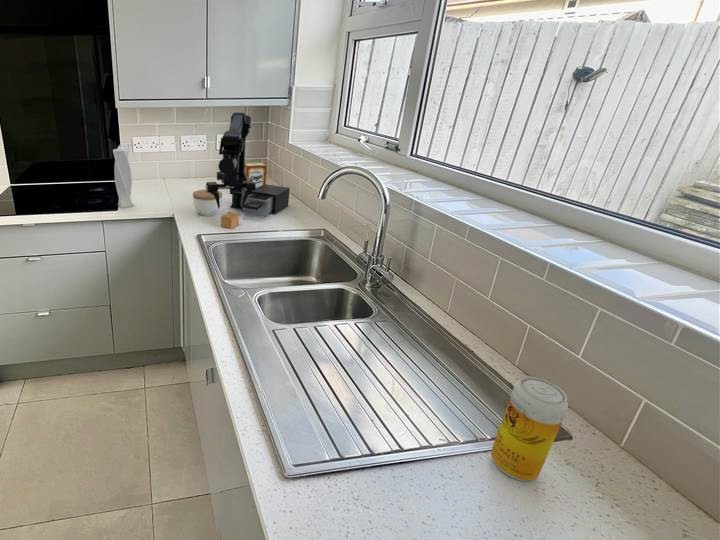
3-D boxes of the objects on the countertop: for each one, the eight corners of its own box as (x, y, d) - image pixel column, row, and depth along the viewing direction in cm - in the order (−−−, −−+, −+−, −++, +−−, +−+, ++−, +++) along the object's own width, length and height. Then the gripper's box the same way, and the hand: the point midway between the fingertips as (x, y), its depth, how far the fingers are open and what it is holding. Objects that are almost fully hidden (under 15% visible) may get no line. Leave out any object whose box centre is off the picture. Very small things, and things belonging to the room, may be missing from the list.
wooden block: (220, 226, 161) (220, 216, 159) (228, 222, 166) (228, 212, 164) (231, 228, 159) (231, 218, 157) (238, 224, 163) (239, 214, 162)
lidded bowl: (192, 209, 182) (191, 185, 178) (220, 208, 183) (220, 184, 179) (193, 218, 170) (193, 193, 166) (223, 217, 171) (224, 192, 167)
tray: (261, 219, 166) (262, 204, 163) (237, 215, 172) (237, 199, 169) (279, 208, 179) (280, 194, 177) (256, 204, 185) (256, 190, 183)
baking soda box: (246, 197, 199) (247, 165, 193) (243, 194, 205) (244, 162, 199) (264, 197, 200) (266, 164, 194) (261, 193, 206) (262, 162, 200)
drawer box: (275, 214, 175) (276, 195, 172) (249, 209, 181) (249, 190, 178) (288, 205, 186) (289, 187, 183) (263, 201, 193) (264, 184, 189)
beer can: (480, 450, 65) (506, 376, 59) (515, 447, 66) (544, 373, 60) (509, 485, 59) (541, 407, 54) (548, 482, 60) (583, 404, 54)
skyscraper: (130, 202, 192) (125, 142, 182) (137, 205, 187) (132, 144, 176) (114, 204, 188) (109, 143, 178) (121, 208, 182) (115, 146, 172)
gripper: (249, 163, 162) (248, 200, 168) (203, 164, 160) (203, 202, 165) (257, 169, 152) (255, 208, 158) (207, 171, 149) (208, 211, 155)
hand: (230, 207), depth 159 cm, fingers open, 9 cm apart
